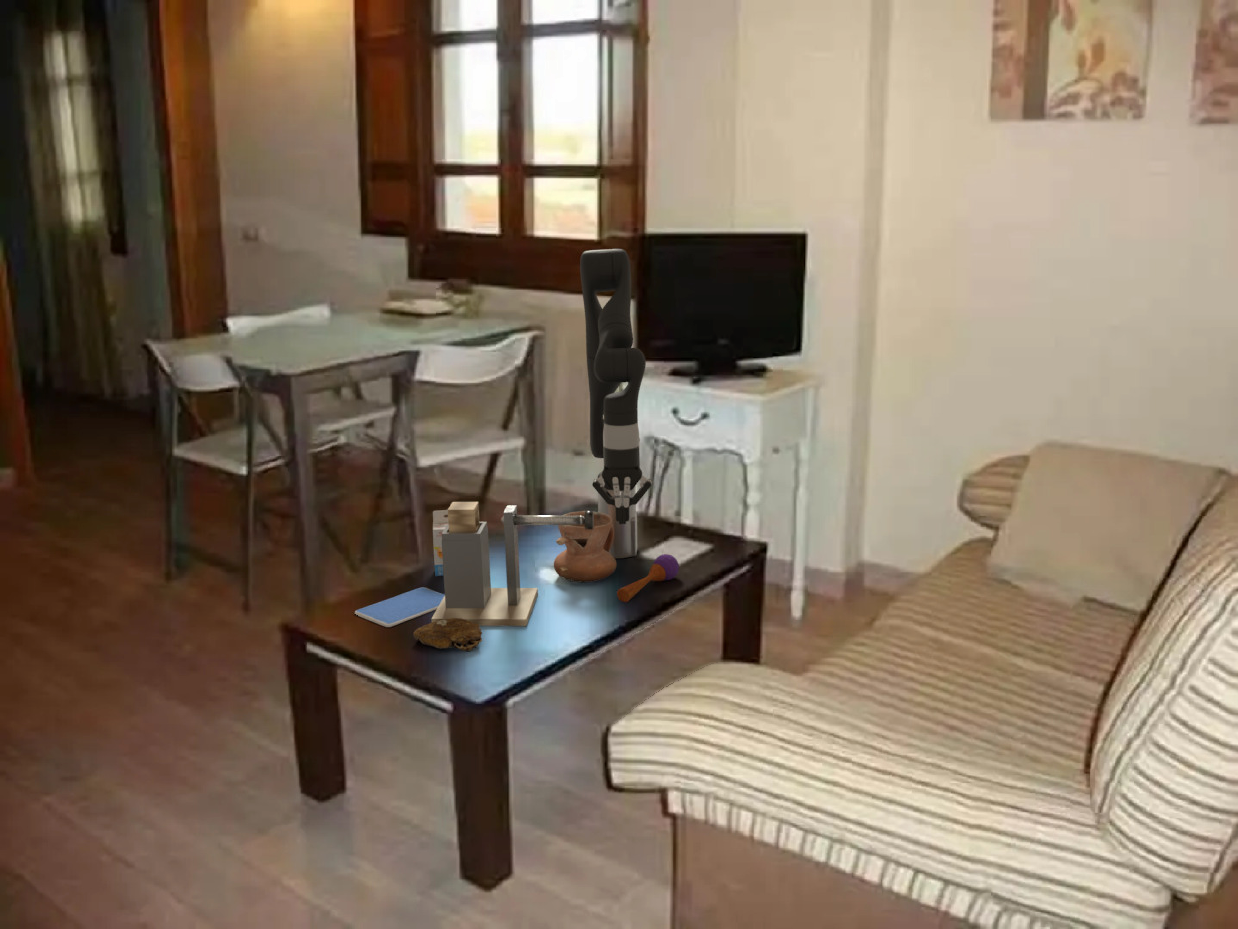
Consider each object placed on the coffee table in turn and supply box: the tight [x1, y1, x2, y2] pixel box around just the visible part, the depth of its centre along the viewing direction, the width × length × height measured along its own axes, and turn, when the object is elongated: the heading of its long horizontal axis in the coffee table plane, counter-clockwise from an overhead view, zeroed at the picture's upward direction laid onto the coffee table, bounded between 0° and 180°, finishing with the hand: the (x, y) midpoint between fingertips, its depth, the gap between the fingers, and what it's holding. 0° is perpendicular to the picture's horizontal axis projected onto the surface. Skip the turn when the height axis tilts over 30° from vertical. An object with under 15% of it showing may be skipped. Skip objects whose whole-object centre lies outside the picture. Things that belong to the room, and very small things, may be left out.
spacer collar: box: [447, 501, 481, 533], centre depth 254 cm, size 6×6×6 cm
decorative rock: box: [412, 618, 483, 652], centre depth 241 cm, size 11×4×15 cm
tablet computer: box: [354, 586, 445, 628], centre depth 260 cm, size 19×13×1 cm, turn 138°
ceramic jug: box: [553, 510, 617, 583], centre depth 275 cm, size 18×14×14 cm
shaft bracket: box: [503, 504, 521, 606], centre depth 255 cm, size 2×5×21 cm, turn 176°
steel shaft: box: [500, 510, 594, 530], centre depth 252 cm, size 20×4×4 cm, turn 86°
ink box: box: [432, 509, 448, 577], centre depth 279 cm, size 8×5×15 cm, turn 98°
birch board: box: [431, 587, 539, 627], centre depth 258 cm, size 20×18×2 cm
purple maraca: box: [616, 553, 680, 603], centre depth 268 cm, size 6×6×20 cm
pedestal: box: [442, 521, 492, 609], centre depth 256 cm, size 8×8×17 cm
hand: (622, 523), depth 251 cm, fingers closed
